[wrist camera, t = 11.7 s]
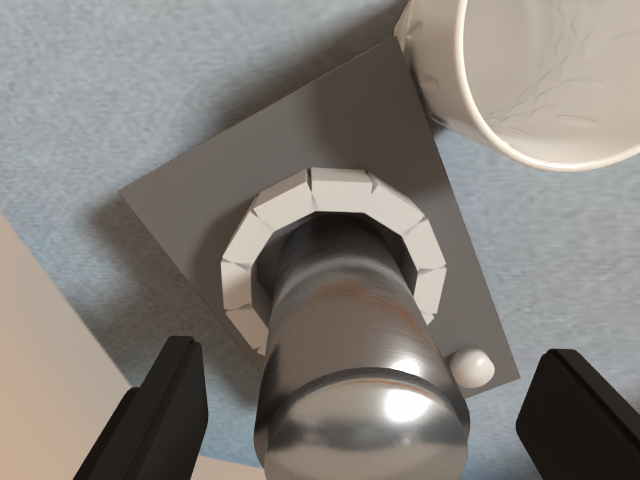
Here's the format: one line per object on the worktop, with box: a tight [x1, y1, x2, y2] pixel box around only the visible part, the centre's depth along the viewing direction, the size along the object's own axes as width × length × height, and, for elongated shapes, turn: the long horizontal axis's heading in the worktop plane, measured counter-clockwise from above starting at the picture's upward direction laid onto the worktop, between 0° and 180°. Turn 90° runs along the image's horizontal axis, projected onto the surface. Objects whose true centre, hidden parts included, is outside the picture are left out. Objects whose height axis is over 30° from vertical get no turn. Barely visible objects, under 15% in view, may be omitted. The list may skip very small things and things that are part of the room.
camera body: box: [118, 36, 520, 399], centre depth 18 cm, size 18×12×8 cm, turn 27°
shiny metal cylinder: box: [254, 214, 470, 480], centre depth 12 cm, size 5×5×9 cm
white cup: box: [393, 0, 640, 172], centre depth 13 cm, size 8×8×10 cm
